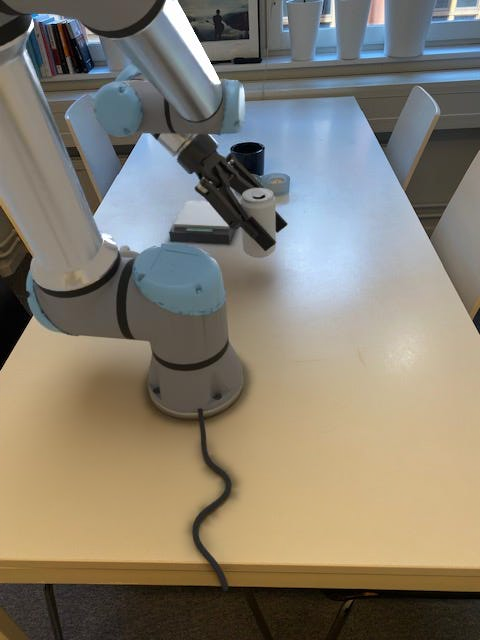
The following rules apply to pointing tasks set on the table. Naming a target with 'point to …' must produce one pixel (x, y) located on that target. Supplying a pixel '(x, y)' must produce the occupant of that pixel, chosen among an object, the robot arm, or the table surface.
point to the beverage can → (259, 218)
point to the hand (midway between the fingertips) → (276, 237)
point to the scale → (200, 225)
